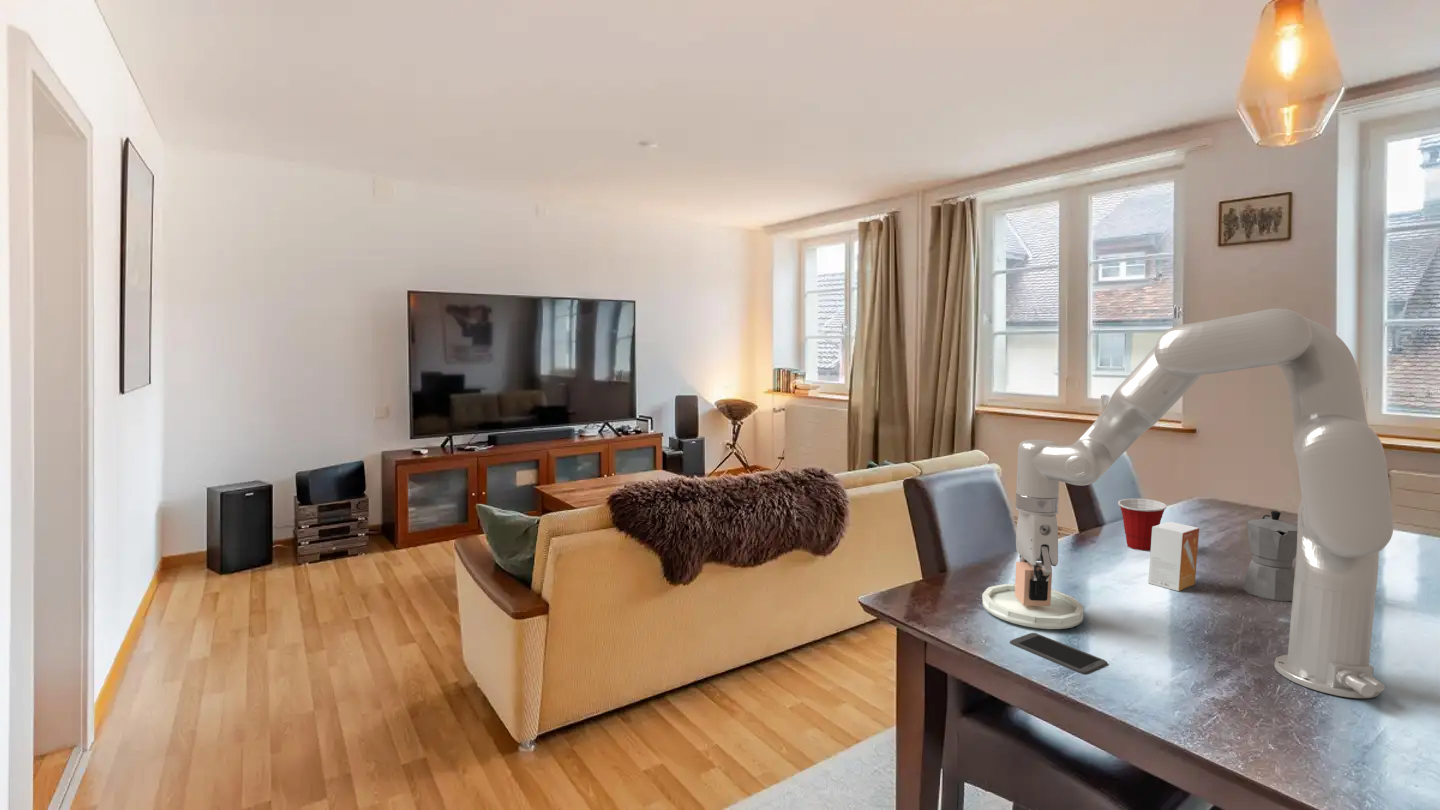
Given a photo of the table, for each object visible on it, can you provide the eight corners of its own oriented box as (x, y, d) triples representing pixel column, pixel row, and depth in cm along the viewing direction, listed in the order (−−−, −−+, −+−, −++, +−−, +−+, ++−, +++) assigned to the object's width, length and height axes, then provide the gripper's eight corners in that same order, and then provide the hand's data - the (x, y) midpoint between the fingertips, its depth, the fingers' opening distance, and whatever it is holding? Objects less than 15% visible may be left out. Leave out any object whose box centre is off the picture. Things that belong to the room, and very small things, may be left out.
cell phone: (1032, 635, 125) (1032, 631, 125) (1109, 666, 113) (1109, 661, 113) (1007, 644, 121) (1007, 640, 121) (1084, 677, 109) (1084, 672, 109)
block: (1050, 606, 131) (1052, 570, 131) (1023, 605, 132) (1025, 569, 131) (1040, 596, 136) (1042, 562, 135) (1014, 595, 137) (1016, 561, 136)
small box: (1179, 592, 146) (1183, 532, 145) (1147, 583, 151) (1151, 526, 150) (1196, 585, 150) (1200, 527, 149) (1164, 576, 156) (1168, 520, 154)
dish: (1100, 634, 124) (1100, 620, 124) (998, 630, 126) (999, 616, 126) (1060, 597, 142) (1060, 585, 142) (971, 594, 144) (972, 582, 144)
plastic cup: (1106, 544, 180) (1108, 499, 179) (1132, 539, 185) (1135, 496, 184) (1146, 556, 171) (1149, 509, 170) (1173, 550, 175) (1176, 504, 174)
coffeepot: (1306, 608, 137) (1313, 521, 135) (1247, 599, 142) (1254, 515, 140) (1287, 584, 151) (1293, 505, 149) (1234, 577, 155) (1240, 500, 153)
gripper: (1075, 515, 123) (1070, 612, 125) (1040, 494, 140) (1036, 580, 142) (1032, 514, 124) (1028, 610, 126) (1002, 493, 141) (999, 579, 143)
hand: (1032, 593), depth 134 cm, fingers closed on block, 5 cm apart
